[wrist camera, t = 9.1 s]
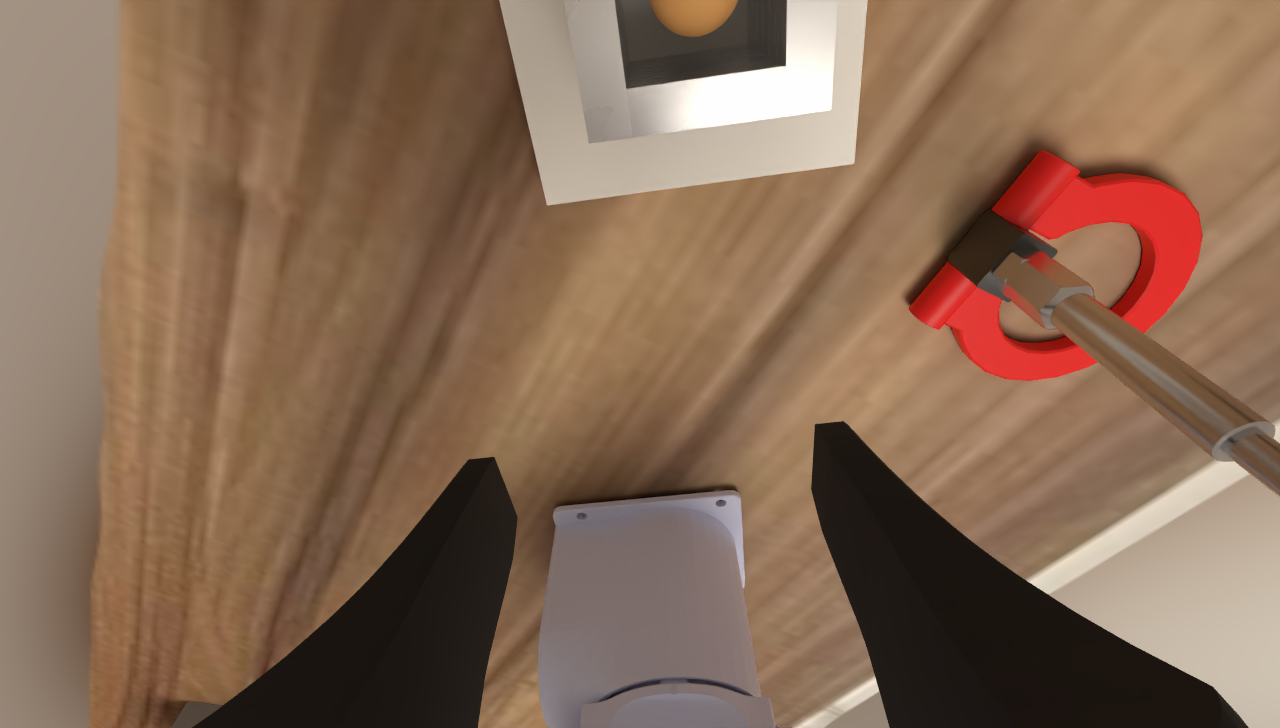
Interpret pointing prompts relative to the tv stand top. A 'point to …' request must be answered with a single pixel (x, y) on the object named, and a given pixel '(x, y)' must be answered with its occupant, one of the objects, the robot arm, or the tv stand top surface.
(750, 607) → the tv stand top surface
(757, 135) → the plate
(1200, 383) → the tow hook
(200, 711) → the dice cube
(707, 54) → the hollow square tube
